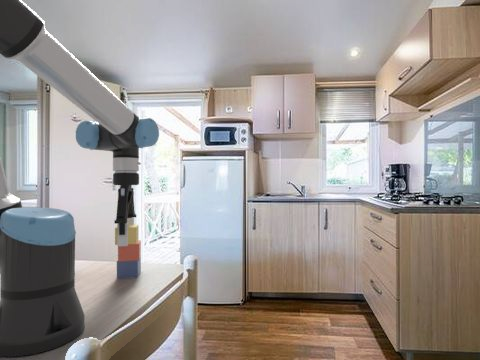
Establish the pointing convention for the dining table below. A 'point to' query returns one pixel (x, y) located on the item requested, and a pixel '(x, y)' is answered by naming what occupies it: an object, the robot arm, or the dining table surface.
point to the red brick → (129, 252)
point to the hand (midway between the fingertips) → (126, 241)
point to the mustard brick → (129, 234)
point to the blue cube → (128, 269)
